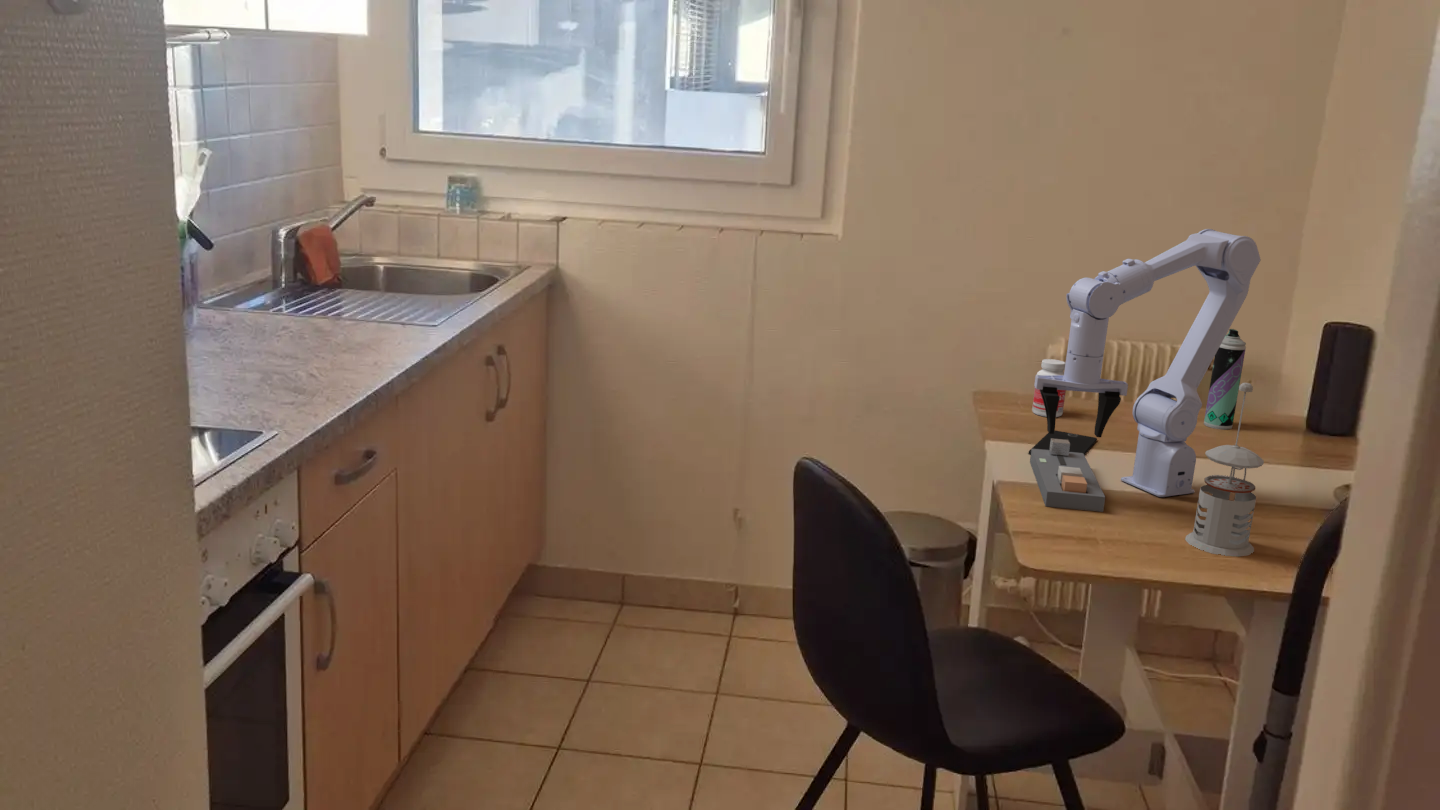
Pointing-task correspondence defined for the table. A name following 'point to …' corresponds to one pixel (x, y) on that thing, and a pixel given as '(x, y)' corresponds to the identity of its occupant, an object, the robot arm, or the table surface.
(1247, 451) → the french press
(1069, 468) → the grey button
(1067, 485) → the orange button
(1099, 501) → the switch panel
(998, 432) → the table surface
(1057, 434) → the cell phone
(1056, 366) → the pill bottle
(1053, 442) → the toggle knob
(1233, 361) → the spray can
